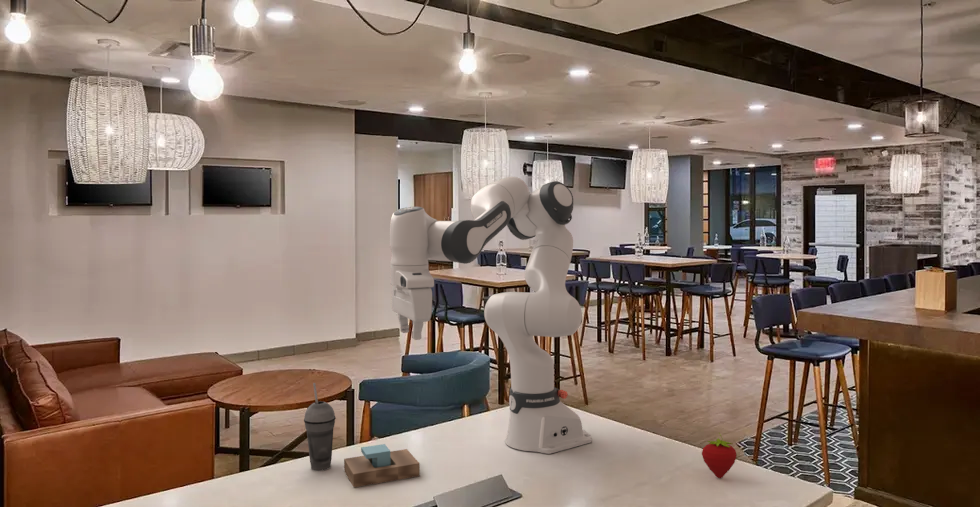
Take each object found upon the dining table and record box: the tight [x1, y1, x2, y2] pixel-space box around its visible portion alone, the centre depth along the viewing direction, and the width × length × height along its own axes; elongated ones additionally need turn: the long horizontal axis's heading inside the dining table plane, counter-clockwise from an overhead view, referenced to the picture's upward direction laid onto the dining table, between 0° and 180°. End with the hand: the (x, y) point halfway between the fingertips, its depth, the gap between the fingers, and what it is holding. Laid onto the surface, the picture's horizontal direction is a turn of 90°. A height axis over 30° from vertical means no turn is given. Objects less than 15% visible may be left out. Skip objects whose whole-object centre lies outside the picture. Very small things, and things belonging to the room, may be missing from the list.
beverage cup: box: [303, 382, 337, 472], centre depth 155 cm, size 7×7×20 cm
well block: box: [343, 448, 421, 488], centre depth 151 cm, size 15×10×3 cm, turn 114°
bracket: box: [360, 443, 391, 468], centre depth 151 cm, size 6×5×6 cm
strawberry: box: [701, 432, 738, 479], centre depth 147 cm, size 6×8×10 cm
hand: (410, 335), depth 154 cm, fingers open, 8 cm apart
